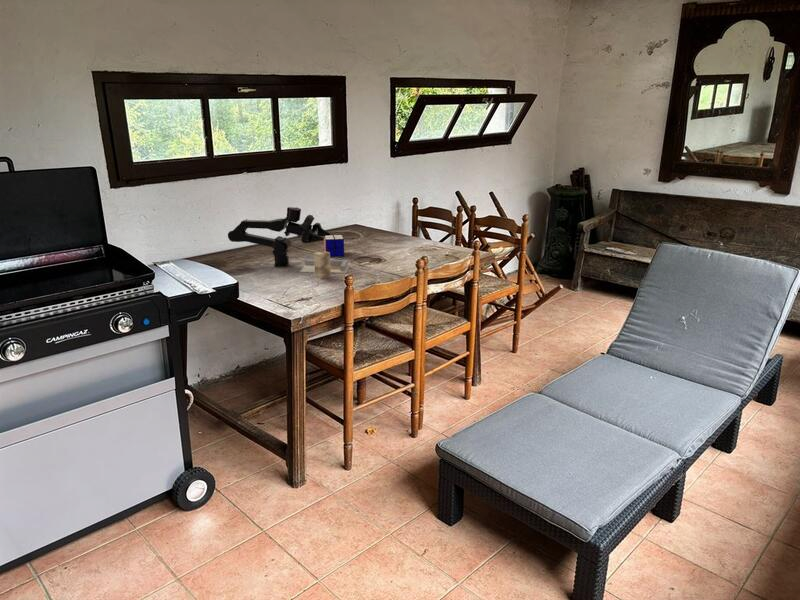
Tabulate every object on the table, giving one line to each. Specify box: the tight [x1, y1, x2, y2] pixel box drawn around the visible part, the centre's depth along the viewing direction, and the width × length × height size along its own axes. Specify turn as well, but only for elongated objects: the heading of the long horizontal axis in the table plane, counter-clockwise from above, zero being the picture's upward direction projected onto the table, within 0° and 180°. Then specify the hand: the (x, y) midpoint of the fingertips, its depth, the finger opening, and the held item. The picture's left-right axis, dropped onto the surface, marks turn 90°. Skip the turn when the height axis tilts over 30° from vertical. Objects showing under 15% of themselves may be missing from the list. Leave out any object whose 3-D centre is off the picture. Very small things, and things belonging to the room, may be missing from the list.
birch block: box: [313, 250, 332, 280], centre depth 291 cm, size 6×4×12 cm
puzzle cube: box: [323, 234, 345, 258], centre depth 333 cm, size 10×10×10 cm
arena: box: [299, 258, 351, 274], centre depth 306 cm, size 23×14×3 cm, turn 87°
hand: (327, 236), depth 303 cm, fingers open, 9 cm apart
